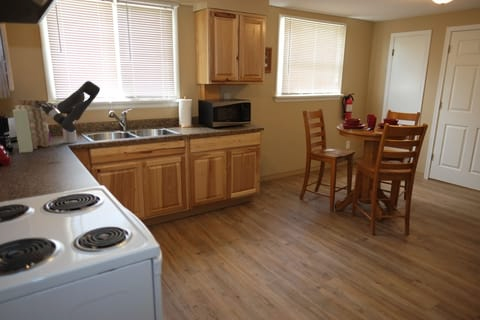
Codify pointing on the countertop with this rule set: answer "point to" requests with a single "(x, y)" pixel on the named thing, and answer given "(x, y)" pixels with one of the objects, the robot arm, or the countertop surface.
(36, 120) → the tan egg carton
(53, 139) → the countertop surface
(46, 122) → the candy bar box
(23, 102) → the walnut bar
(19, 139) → the sage post
